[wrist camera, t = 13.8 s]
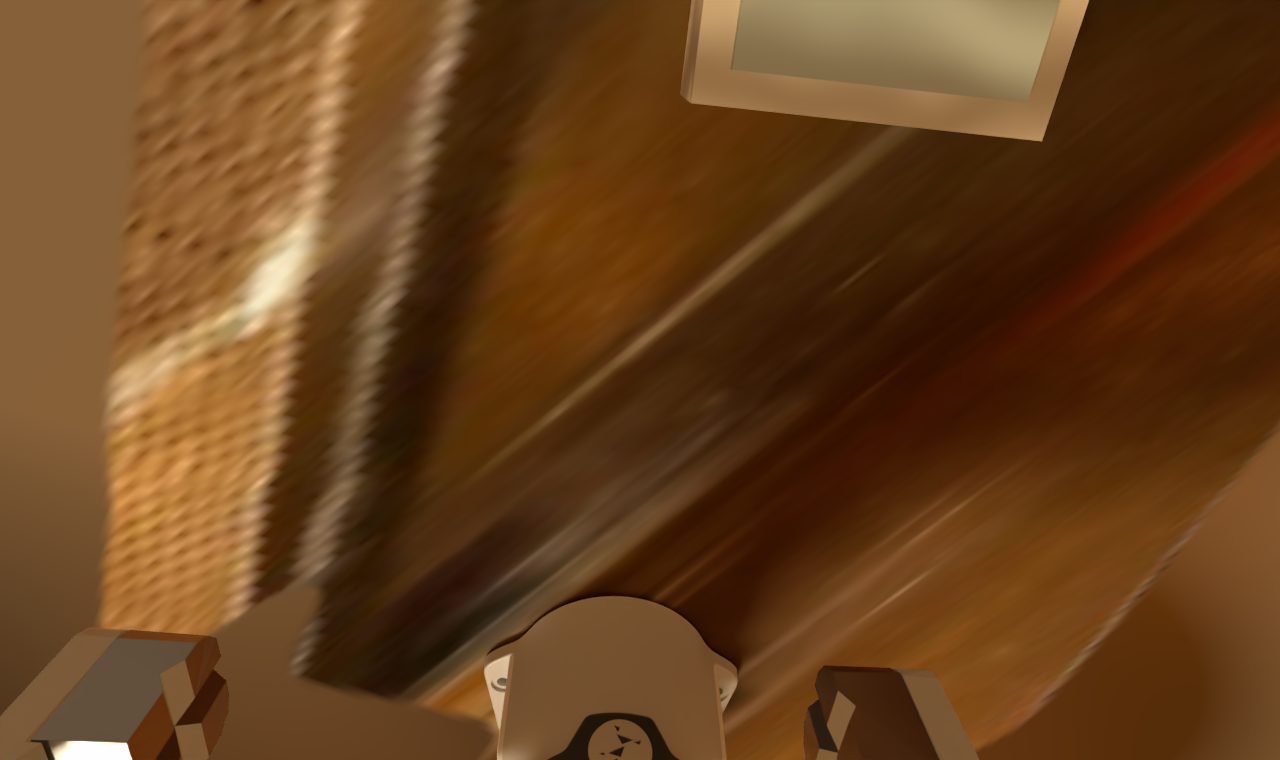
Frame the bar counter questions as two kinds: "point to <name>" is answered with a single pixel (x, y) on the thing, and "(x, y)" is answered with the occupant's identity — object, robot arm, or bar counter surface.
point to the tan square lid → (886, 60)
